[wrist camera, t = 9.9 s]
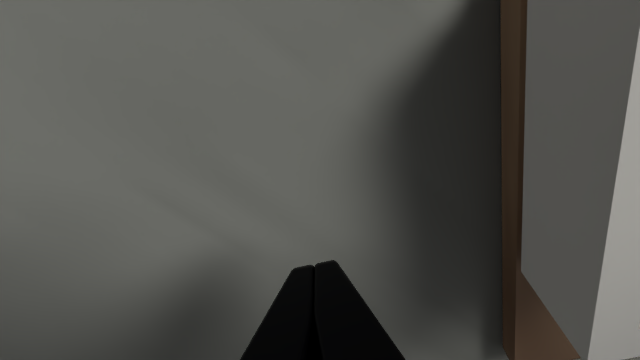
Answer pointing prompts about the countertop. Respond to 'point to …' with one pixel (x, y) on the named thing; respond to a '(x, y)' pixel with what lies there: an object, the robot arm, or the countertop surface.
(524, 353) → the board
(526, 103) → the white bent bar
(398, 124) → the countertop surface
